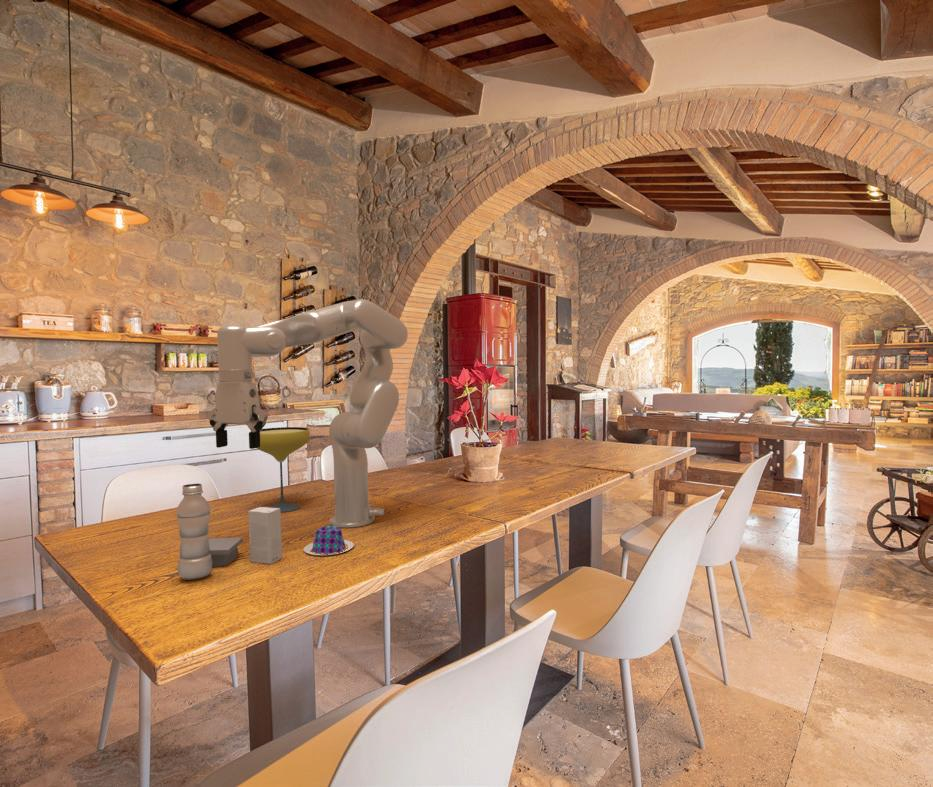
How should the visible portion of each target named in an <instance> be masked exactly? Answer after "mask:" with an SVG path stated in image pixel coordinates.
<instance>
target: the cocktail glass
mask: <svg viewBox="0 0 933 787" xmlns="http://www.w3.org/2000/svg"><path fill="white" fill-rule="evenodd" d="M310 434H311V433H310V429H309V428H308V427H301V426H300V427H298V426H293V427H290V426H289V427H288V426H286V427H284V426H283V427H270V428H268V427H267V428H262V431H260V447H259V448H256V449H257V450H259V451H261V452H263V453H266V454H268V455H270V456H272V457H273V458H274V459H275V461H276V462H278V463H279V469H280V470H279V474H280V475H279V476H280V477H279V478H280V499H279V503H277V504H276V503H275V504H271V505H269V506H267V507H268V508H280V512H281V513H289V512H293V511H296V510H299V509H300V508H301V505H300V504H299V503H294V502H293V503H292V502H286V501H285V495H284V486H283V484H284V483H283V482H284V481H283V462H285V461H286V460H287V458H288V457H289V456H290V455H291V454H292V453H294V452H296V451H298V450H299V449H301V448H302V447H304V446H305V445H306V444H307V443H308V442H309V441H310V437H311V435H310Z"/></svg>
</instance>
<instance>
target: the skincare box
mask: <svg viewBox="0 0 933 787" xmlns="http://www.w3.org/2000/svg"><path fill="white" fill-rule="evenodd" d="M247 513H248V532H249V533H248V537H249V542H248V543H249V561H250V562H251V563H258V564H267V565H268V564H269V565H272V564H275V563H277V562H278V561H280V560H281V559H283V542H282V541H283V540H282V518H281V513H282V512H281V513H280V508H268V506H265V507H263V506H259V507H256V508H253V509H250V510H248V511H247Z"/></svg>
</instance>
